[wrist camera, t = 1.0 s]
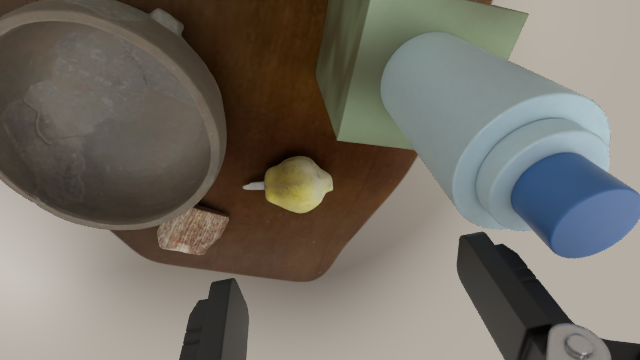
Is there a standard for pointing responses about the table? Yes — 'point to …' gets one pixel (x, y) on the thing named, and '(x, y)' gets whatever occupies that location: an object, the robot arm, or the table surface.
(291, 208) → the fruit
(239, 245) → the table surface
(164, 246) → the stone
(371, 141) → the stand
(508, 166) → the bottle
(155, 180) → the bowl
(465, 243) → the robot arm
